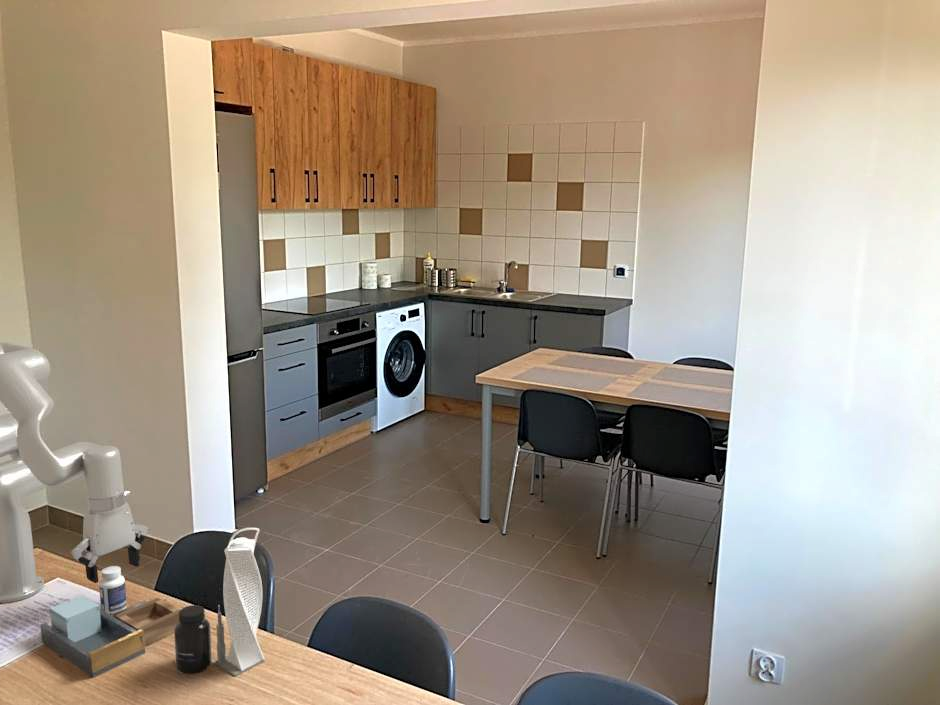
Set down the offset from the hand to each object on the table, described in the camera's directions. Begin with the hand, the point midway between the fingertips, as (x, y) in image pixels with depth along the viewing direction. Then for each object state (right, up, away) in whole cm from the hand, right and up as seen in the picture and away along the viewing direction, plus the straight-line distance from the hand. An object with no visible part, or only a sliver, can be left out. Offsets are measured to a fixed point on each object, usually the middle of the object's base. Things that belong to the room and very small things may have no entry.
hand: (114, 572), depth 175 cm
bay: (+2, -12, -14) cm, 18 cm away
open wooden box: (+10, -10, -6) cm, 15 cm away
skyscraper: (+35, -13, -18) cm, 42 cm away
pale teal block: (-3, -10, -10) cm, 14 cm away
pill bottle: (-1, -9, +2) cm, 9 cm away
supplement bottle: (+25, -13, -19) cm, 35 cm away
